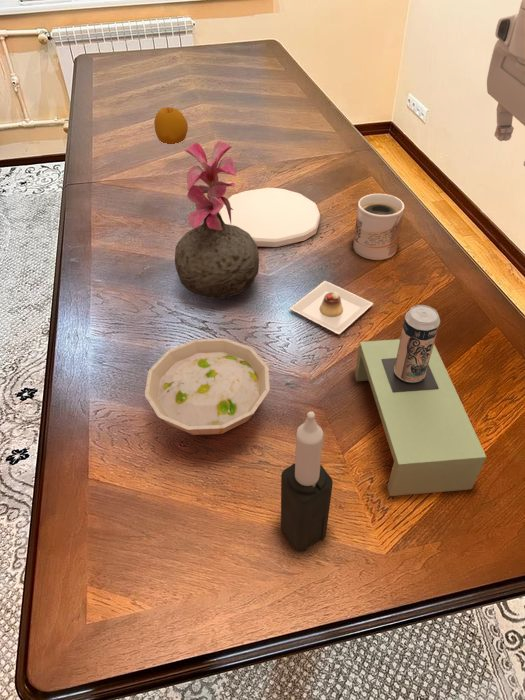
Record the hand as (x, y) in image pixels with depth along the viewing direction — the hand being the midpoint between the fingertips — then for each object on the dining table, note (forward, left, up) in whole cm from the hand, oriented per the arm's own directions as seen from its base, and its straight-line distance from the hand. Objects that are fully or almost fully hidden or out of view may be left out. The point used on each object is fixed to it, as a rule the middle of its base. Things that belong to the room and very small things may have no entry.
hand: (516, 153), depth 72 cm
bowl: (+44, +11, -37) cm, 59 cm away
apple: (+54, -97, -37) cm, 117 cm away
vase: (+42, -24, -37) cm, 61 cm away
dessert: (+20, -14, -37) cm, 45 cm away
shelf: (+13, +16, -37) cm, 42 cm away
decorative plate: (+29, -50, -37) cm, 69 cm away
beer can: (+13, +12, -29) cm, 34 cm away
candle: (+32, +32, -37) cm, 59 cm away
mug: (+6, -36, -37) cm, 52 cm away
